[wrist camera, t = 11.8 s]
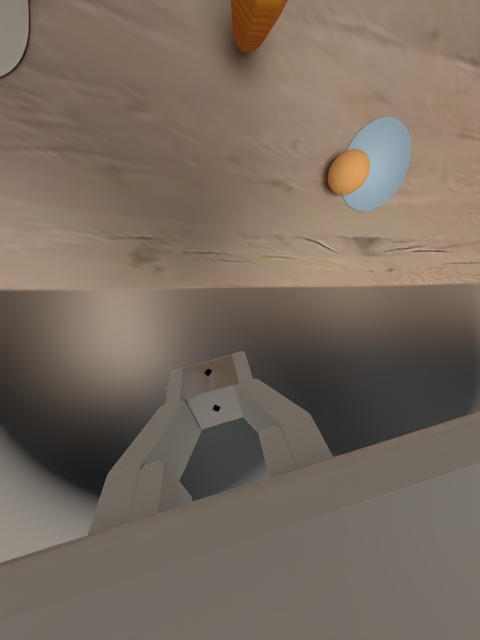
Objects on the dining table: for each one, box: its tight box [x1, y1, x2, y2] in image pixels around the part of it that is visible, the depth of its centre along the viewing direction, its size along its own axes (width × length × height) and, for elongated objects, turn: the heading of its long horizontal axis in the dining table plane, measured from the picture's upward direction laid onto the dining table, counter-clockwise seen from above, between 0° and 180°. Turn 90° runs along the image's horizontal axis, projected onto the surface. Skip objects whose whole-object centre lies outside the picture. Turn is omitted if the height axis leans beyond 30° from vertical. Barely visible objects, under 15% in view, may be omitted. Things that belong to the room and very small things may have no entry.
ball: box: [328, 149, 370, 195], centre depth 30 cm, size 5×5×5 cm
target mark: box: [342, 117, 412, 211], centre depth 32 cm, size 12×12×1 cm
